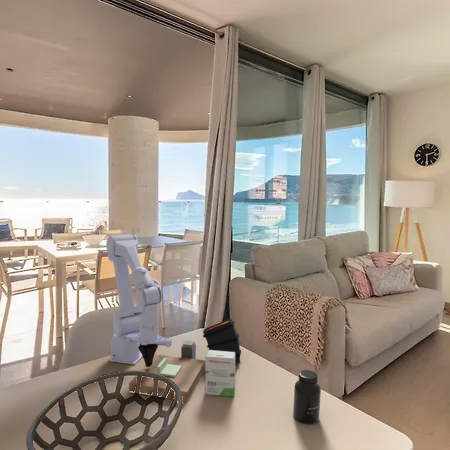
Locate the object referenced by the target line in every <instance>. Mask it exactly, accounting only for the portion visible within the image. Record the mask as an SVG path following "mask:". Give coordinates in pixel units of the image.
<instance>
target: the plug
mask: <svg viewBox="0 0 450 450" xmlns="http://www.w3.org/2000/svg"><path fill="white" fill-rule="evenodd" d="M196 347H197V343H195V341H194V340H187V339H186V340H184V342H183V343H182V346H181V350H180V353H181V354H180V357H181V358H189V359H197V357H196V356H197V355H196V354H197V353H196V352H197V348H196Z"/></svg>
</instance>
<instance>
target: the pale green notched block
mask: <svg viewBox="0 0 450 450" xmlns="http://www.w3.org/2000/svg"><path fill="white" fill-rule="evenodd" d="M181 368H182V366H179V365H172V364H167V358H164V359H163V360H162V361H161V362H160V363H159V365H158V366H157V374H160V375H163V376H170V377H176V375H177V374H178V372H179V371H180V370H181Z"/></svg>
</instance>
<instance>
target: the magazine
mask: <svg viewBox="0 0 450 450" xmlns="http://www.w3.org/2000/svg"><path fill="white" fill-rule="evenodd" d="M202 334H203V336H202V337H203V338H205V340H206V342H207V345H206V348H207V349H208V351H209V350H215V351H227V352H235V364H240V362H241V354H242V349H240V348H241V345H240V341H239V338H240V335H239V333H237V329H236V326H235V320H233V319H232V318H229V319H226V320H223V321H221V322H218V323H216V324H212V325H211V326H208V327H206V328H204V329H203V330H202Z"/></svg>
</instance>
